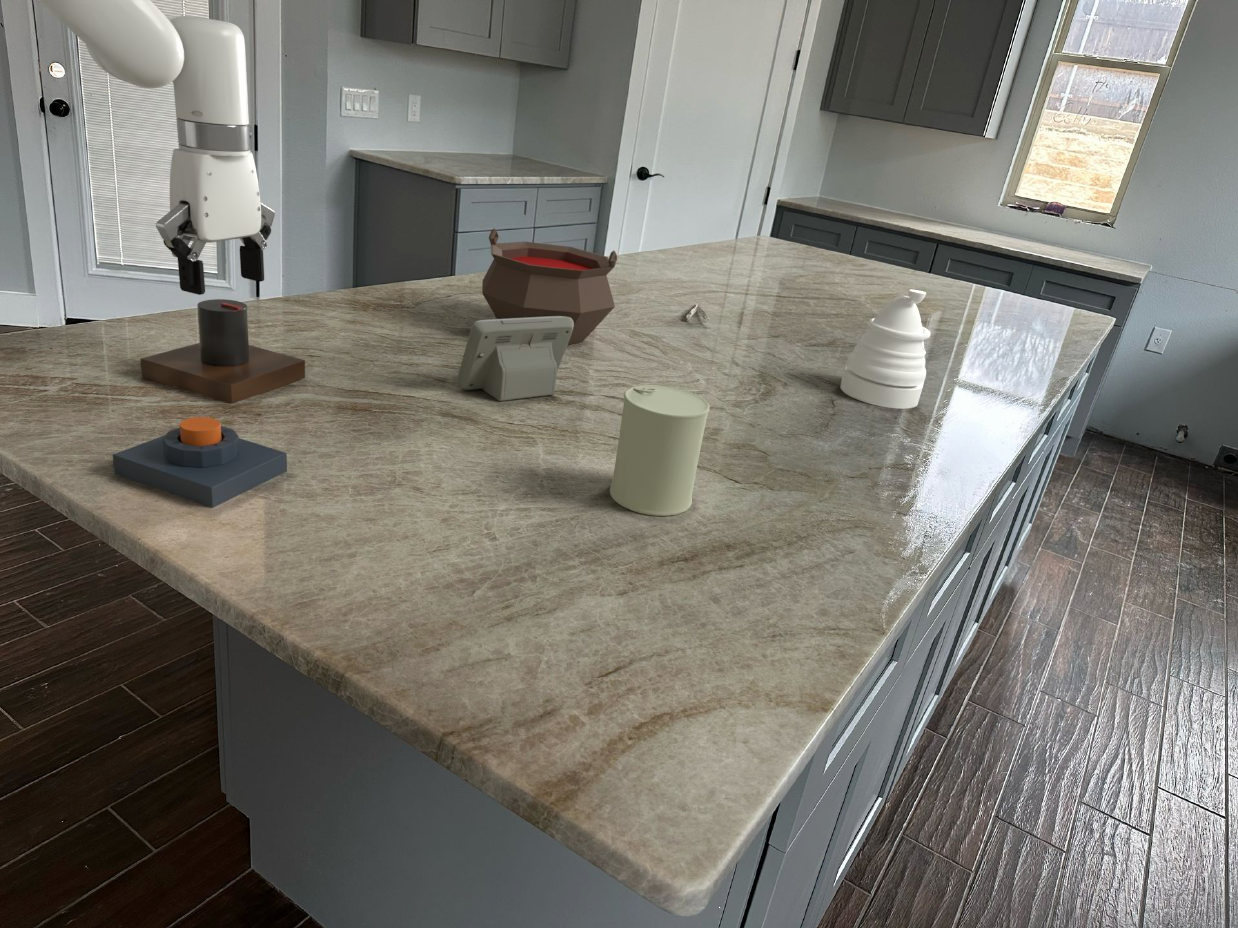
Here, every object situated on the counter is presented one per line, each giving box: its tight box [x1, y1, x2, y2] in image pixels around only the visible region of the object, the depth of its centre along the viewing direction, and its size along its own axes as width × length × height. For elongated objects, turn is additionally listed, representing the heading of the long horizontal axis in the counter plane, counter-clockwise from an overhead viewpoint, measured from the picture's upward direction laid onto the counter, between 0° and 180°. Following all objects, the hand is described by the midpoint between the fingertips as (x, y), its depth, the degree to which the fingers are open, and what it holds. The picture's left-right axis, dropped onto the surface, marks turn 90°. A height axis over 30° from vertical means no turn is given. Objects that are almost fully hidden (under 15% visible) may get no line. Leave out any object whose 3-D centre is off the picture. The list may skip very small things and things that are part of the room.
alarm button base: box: [112, 425, 288, 509], centre depth 84 cm, size 12×10×4 cm
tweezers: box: [685, 302, 710, 326], centre depth 177 cm, size 18×5×2 cm, turn 175°
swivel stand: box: [139, 342, 306, 405], centre depth 109 cm, size 14×13×2 cm
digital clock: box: [456, 316, 574, 402], centre depth 118 cm, size 16×9×11 cm, turn 116°
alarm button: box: [179, 416, 222, 446], centre depth 83 cm, size 4×4×2 cm
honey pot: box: [839, 289, 931, 410], centre depth 138 cm, size 13×13×18 cm
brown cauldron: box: [481, 227, 618, 346], centre depth 145 cm, size 24×24×16 cm
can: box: [609, 384, 710, 517], centre depth 92 cm, size 9×9×12 cm
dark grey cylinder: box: [196, 298, 250, 366], centre depth 107 cm, size 6×6×7 cm
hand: (224, 285), depth 105 cm, fingers open, 9 cm apart
